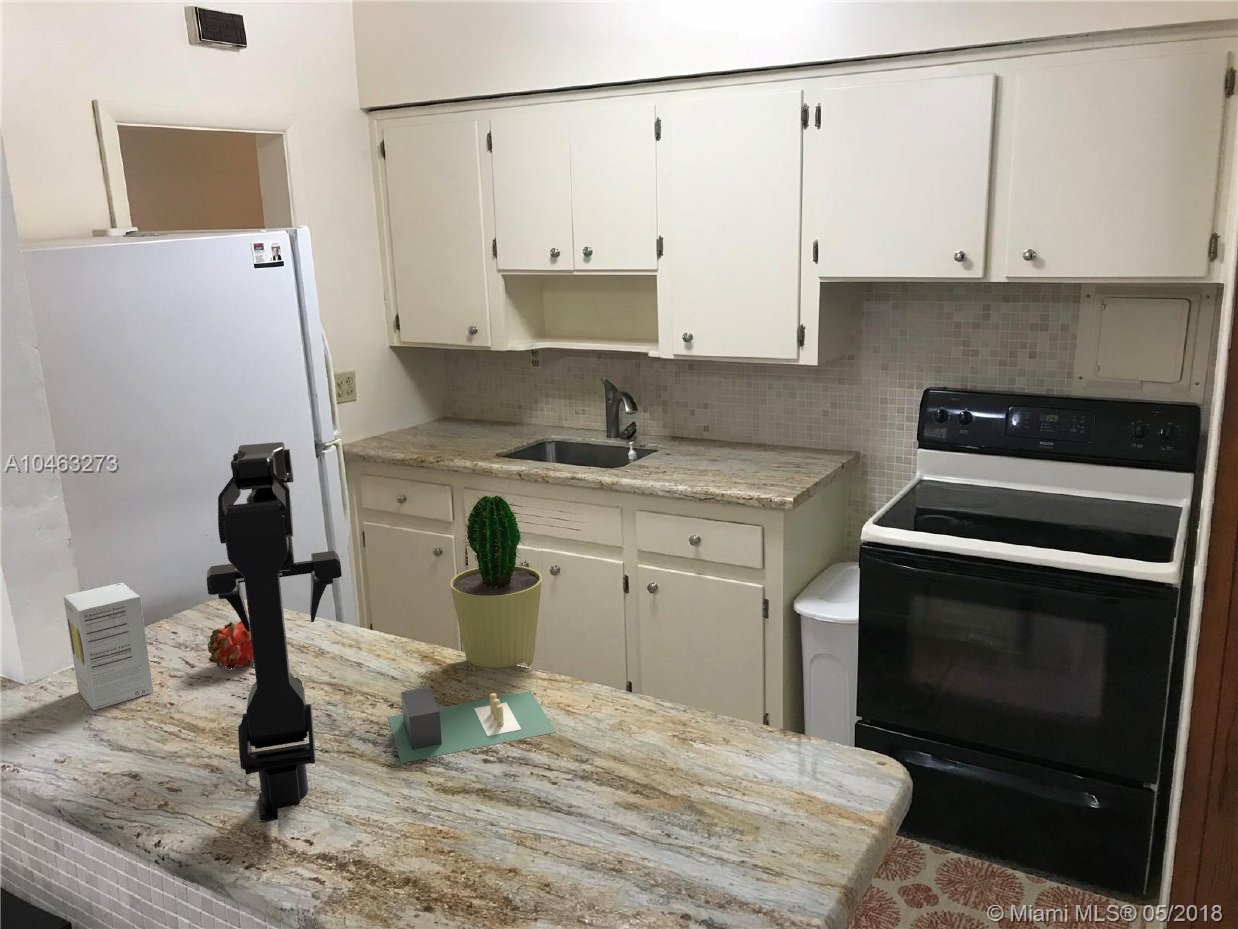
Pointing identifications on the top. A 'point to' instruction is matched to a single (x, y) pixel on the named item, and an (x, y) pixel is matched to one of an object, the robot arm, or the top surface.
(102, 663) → the supplement box
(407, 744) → the board
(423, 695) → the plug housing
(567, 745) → the top surface
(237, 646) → the dragon fruit
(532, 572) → the potted cactus
